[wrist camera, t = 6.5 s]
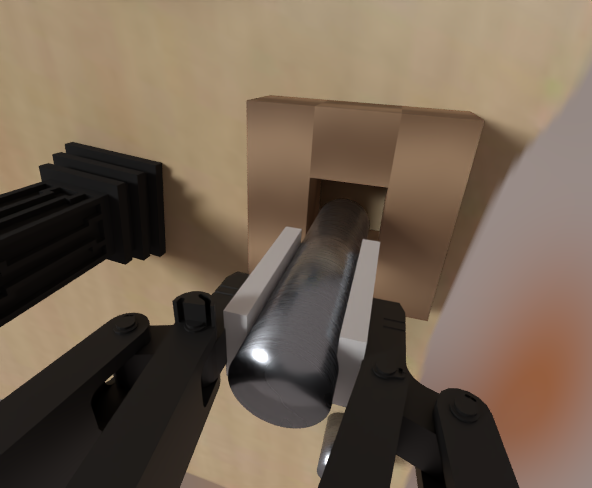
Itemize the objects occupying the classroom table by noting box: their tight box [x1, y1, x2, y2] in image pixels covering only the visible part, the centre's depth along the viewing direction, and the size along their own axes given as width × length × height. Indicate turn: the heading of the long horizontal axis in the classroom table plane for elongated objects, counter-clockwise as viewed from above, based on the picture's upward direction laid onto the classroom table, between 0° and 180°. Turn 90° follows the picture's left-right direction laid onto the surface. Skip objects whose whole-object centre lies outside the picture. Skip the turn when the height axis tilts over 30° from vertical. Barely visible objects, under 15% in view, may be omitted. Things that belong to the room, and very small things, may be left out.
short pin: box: [317, 413, 344, 478], centre depth 32 cm, size 3×3×5 cm
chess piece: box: [0, 142, 166, 327], centre depth 21 cm, size 8×8×20 cm
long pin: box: [228, 199, 370, 428], centre depth 15 cm, size 3×3×12 cm
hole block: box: [247, 95, 485, 321], centre depth 22 cm, size 12×12×4 cm
